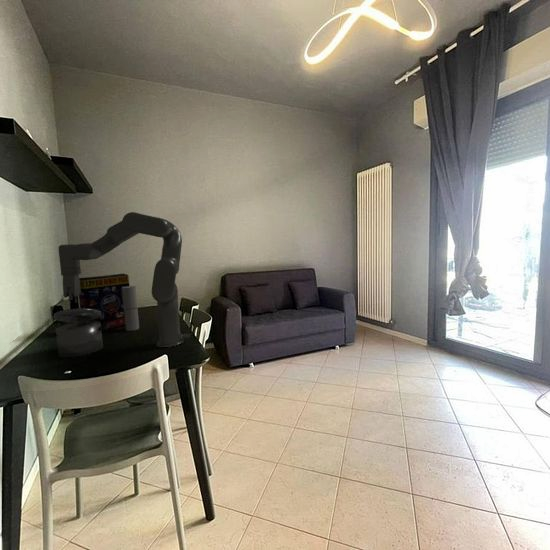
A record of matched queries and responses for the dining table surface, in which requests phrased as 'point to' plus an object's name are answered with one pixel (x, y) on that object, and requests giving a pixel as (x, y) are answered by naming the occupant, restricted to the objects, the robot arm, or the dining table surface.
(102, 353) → the dining table surface
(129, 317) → the cylindrical container
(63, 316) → the cooker lid
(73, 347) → the cooker pot
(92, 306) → the cereal box
